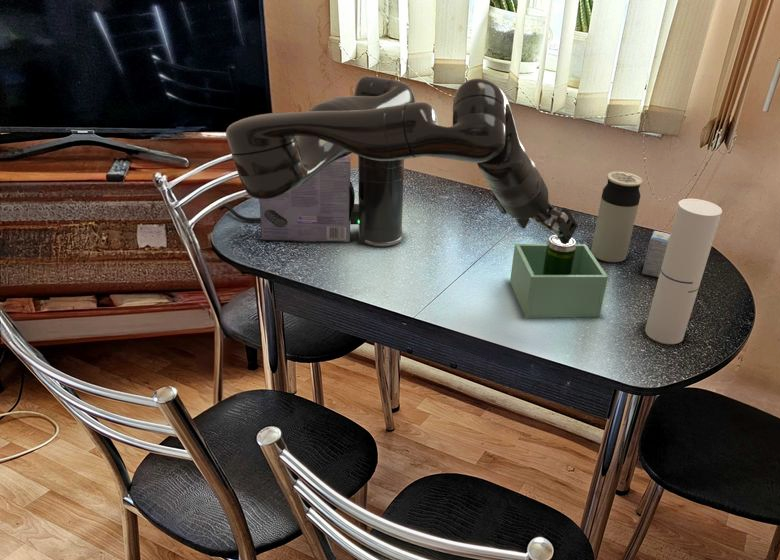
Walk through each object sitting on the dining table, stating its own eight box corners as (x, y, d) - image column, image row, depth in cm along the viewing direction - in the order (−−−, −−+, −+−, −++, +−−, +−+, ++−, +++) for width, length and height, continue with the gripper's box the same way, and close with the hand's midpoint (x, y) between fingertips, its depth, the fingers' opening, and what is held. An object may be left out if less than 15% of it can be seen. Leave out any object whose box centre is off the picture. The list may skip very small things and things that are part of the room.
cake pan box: (355, 233, 149) (354, 153, 140) (355, 243, 145) (354, 162, 136) (263, 231, 146) (256, 149, 136) (261, 241, 142) (253, 158, 132)
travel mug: (604, 265, 148) (621, 186, 138) (583, 249, 154) (598, 172, 144) (633, 260, 151) (651, 182, 141) (612, 245, 157) (628, 169, 147)
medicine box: (680, 274, 148) (690, 237, 143) (678, 283, 144) (688, 246, 140) (644, 265, 150) (653, 229, 145) (641, 274, 146) (650, 237, 141)
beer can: (572, 299, 133) (582, 243, 126) (552, 306, 130) (562, 249, 123) (553, 287, 136) (562, 232, 130) (533, 294, 133) (542, 237, 126)
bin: (525, 318, 127) (531, 277, 122) (509, 282, 137) (514, 243, 133) (599, 316, 130) (608, 276, 125) (578, 282, 140) (585, 244, 136)
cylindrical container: (640, 322, 129) (673, 197, 115) (676, 323, 130) (713, 199, 116) (651, 343, 123) (686, 214, 109) (688, 344, 124) (728, 216, 110)
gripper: (468, 191, 107) (502, 236, 122) (545, 219, 101) (570, 263, 116) (491, 151, 108) (522, 201, 123) (568, 176, 102) (591, 226, 116)
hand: (545, 231), depth 119 cm, fingers open, 8 cm apart
